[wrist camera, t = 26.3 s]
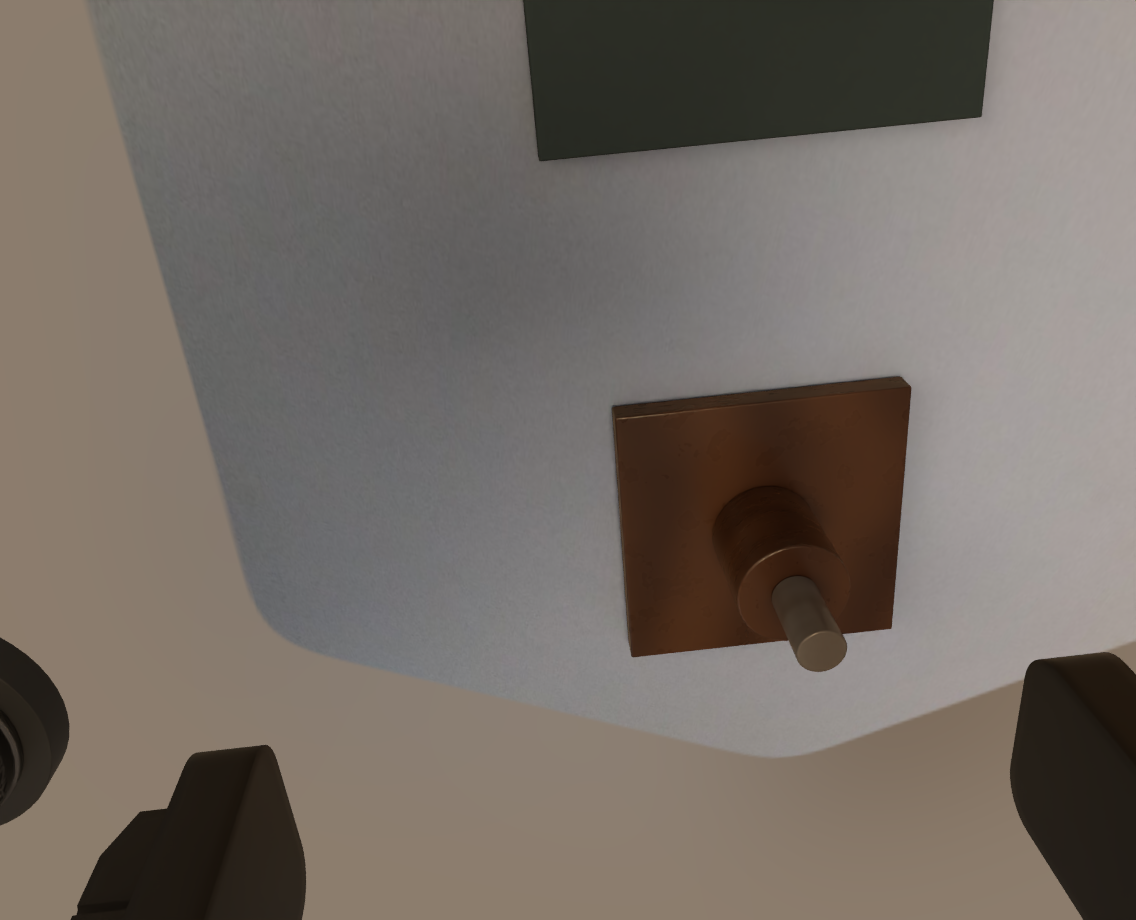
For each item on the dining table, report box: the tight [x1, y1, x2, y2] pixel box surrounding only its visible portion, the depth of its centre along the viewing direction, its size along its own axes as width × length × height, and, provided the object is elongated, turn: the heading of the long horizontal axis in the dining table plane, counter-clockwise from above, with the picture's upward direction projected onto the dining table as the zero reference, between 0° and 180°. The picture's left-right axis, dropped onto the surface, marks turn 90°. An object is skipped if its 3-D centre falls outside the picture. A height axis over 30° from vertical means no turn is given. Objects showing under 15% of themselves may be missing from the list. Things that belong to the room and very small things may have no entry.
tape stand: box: [612, 377, 911, 672], centre depth 37 cm, size 12×12×10 cm
